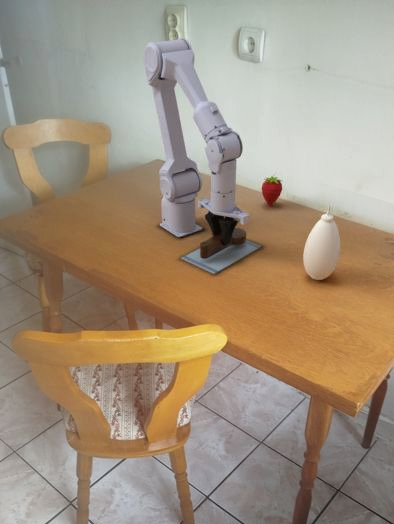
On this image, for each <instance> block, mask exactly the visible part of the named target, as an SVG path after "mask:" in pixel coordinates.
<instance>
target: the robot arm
mask: <svg viewBox="0 0 394 524" xmlns="http://www.w3.org/2000/svg"><path fill="white" fill-rule="evenodd" d="M142 60H143V61H142V62H143V66H144V70H145V75H146V80H147V84H148V86H150V87H151V91H152V95H153V99H154V106H155V111H156V115H157V120H158V124H159V125H158V126H159V131H160V134H161V140H162V145H163V150H164V153H165V154H164V155H165V159H166V161H165V163H163V165H162V167H161V168H160V169H159V171H158V173H159V189H160V192H161V195H162V196H163V197H162V199H161V203H160V207H161V223H159V226H160V227H162V228H163V229H165V230H166V231H167V232H169V233H171V234H172V235H173V236H175V237H177V238H182V237H185V236H188V235H191V234H194V233H196V232H197V233H198V232H199V231H202V230H203V226H200V225H198V224H197V223H196V220H197V219H196V217H197V216H196V198H198V197H199V196H198V193H199V192H200V191H201V190H202V186H203V179H202V176H201V173H200V172H199V169H198V165H197V162H196V161H194V160H193V159H191V158H190V157H188V154H187V148H186V144H185V138H184V134H183V132H184V131H183V127H182V122H181V117H180V112H179V107H178V101H177V96H176V90H175V89H176V86H177V84H178V85H179V87H180V88H181V90H182V92H183V93H184V95H185V97H186V98H187V100H188V101H189V103H190V104H191V106H192V108H193V116H192V119H193V121H194V123H195V124H196V126H197V128H198V130H199V132H200V134H201V136H202V138H203V140H204V142H205V144H206V146H205V147H204V151H205V152H204V153H205V155H206V158H207V162H208V168H209V169H208V170H209V171H210V198H207V197H201V198H199V199H198V200H197V208H198V209H205V210H207V211H208V212H207V213H206V214H204V219H205V220H206V222H207V224H208V226H209V229H210V232H211V234H212V235H211V236H212V237H213V236H215V235H217V234H219V233H221V232H222V244H223V245H224V246H225V245H227V244H229V243H230V240H231V237H232V234H233V231H234V229H235V228H237V225H238V223H240V224H241V225H243V226H244V225H246V224H248V223H250V214H249V213H247V212H245V211H244V210H242V209H241V208H239V207H238V206H237V202H236V186H237V162H238V161H237V160H238V159H239V158H241V156H242V154H243V151H244V150H243V149H244V146H243V141H242V138H241V136H240V134H239V133H238V132H236V131H235V130H233V128H232V127H229V126H228V124H227V123H226V120H225V118H224V117H223V115H222V113H221V111H220V109H219V107H218V105H217V104H216V102H213V101H210V100H209V99H208V96H207V94H206V92H205V89H204V87H203V85H202V82H201V80H200V78H199V76H198V73H197V71H196V69H195V52H194V50H193V48H192V45H191V43H190V41H189V40H188V39H186V38H184V37H181V38H178V39H171V40H165V41H157V42H154V41H152V42H151V41H150V42H148V43H147V44H146V46H145V49H144V52H143V56H142Z"/></svg>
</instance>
